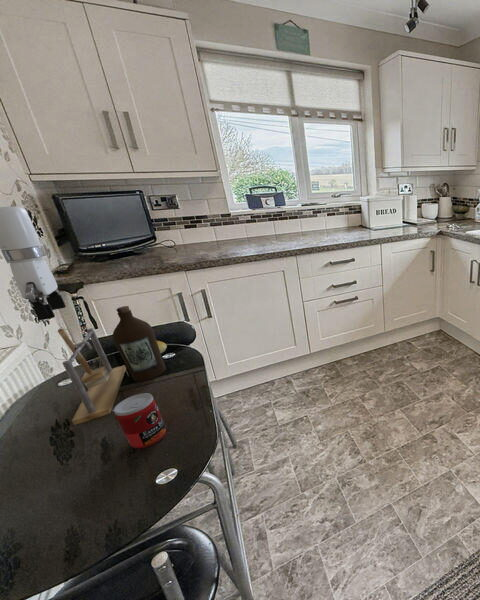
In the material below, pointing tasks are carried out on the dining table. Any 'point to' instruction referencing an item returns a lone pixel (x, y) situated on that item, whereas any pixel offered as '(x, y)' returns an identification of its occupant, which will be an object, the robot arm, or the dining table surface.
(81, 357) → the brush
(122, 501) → the dining table surface
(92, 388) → the rack
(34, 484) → the dining table surface
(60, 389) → the dining table surface
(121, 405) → the canned food
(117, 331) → the olive oil
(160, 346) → the bread roll
